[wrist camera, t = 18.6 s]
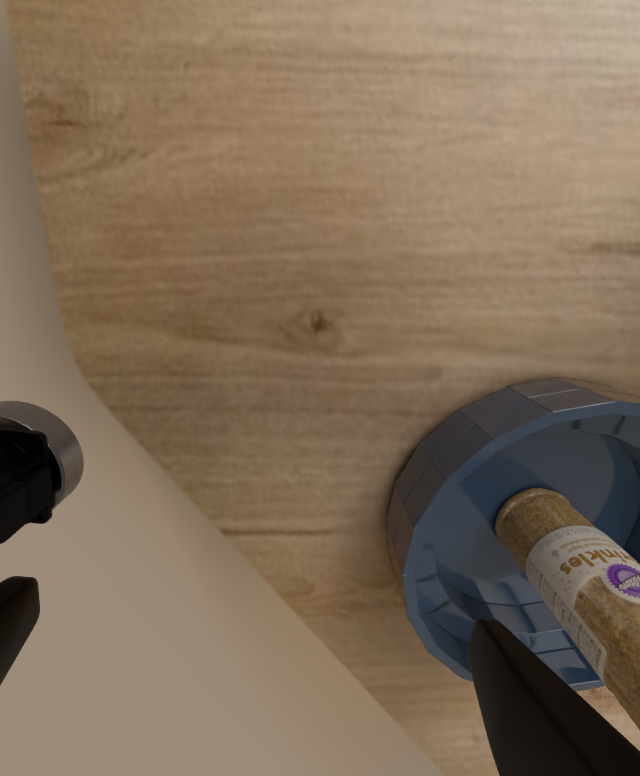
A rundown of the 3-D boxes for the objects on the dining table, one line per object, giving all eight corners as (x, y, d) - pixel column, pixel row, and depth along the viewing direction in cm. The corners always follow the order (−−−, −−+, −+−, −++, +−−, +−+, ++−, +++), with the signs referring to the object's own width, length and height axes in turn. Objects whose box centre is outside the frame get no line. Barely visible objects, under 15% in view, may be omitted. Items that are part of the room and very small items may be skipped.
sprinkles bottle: (562, 475, 21) (961, 783, 8) (571, 538, 22) (929, 892, 10) (484, 498, 21) (752, 831, 9) (497, 559, 23) (748, 930, 10)
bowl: (362, 611, 24) (374, 683, 20) (420, 356, 20) (451, 378, 15) (607, 633, 26) (668, 705, 21) (717, 397, 21) (825, 429, 16)
